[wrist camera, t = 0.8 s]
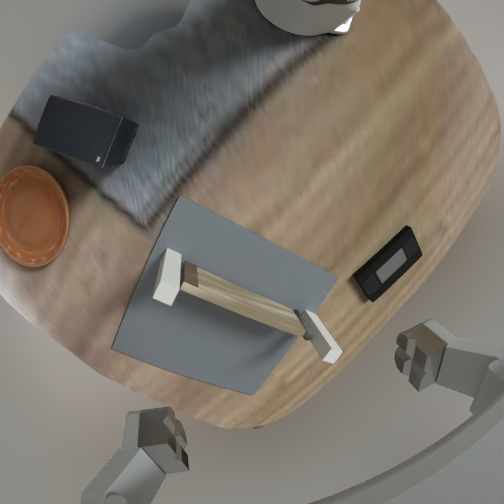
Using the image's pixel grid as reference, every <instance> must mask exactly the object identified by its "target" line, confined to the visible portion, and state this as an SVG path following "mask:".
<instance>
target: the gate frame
mask: <svg viewBox="0 0 504 504" xmlns="http://www.w3.org/2000/svg"><path fill="white" fill-rule="evenodd" d="M185 260H186V261H188V262H190V263H192V264H194V265H196V266H197V267H198V268H200V269H202V270H204V271H207V272H209V273H211V274H213V275H215V276H218V277H220V278H222V279H224V280H227V281H229V282H231V283H233V284H236V285H238V286H240V287H242V288H245V289H247V290H249V291H252V292H254V293H256V294H258V295H261V296H263V297H265V298H268V299H270V300H272V301H275V302H277V303H279V304H282V305H284V306H287V307H289V308H291V309H293V310H295V309H296V310H298V311H299V312H300V314H301V315H302V317H303V319H304V320H305V322H306V323H307V325H308V326H309V328H310V329H311V331H312V332H313V334H314V336H313V338H312V339H310V341H311V342H312V344H313V346H314V347H315V349H316V351H317V352H318V354H319V356H320V357H321V359H322V360H323V361H326V362H330V363H333V364H334V362H335V361H336V360H337V359H338V357H339V356H340V355H341V353H342V350H341V349H340V348H339V346H338V345H337V343H336V342H335V341H334V339H333V338H332V336H331V335H330V334H329V332H328V331H327V329H326V328H325V327H324V325H323V324H322V323H321V321H320V320H319V318H318V317H317V316H316V314H315V312H316V310H317V309H318V307H319V306H320V305H321V303H322V302H323V300H324V299H325V297H326V296H327V294H328V293H329V291H330V290H331V288H332V287H333V285H334V284H335V282H336V281H337V279H338V277H337V276H335V275H333V274H331V273H329V272H327V271H325V270H323V269H322V268H320V267H318V266H316V265H314V264H312V263H310V262H308V261H306V260H305V259H303V258H301V257H299V256H297V255H295V254H293V253H291V252H289V251H288V250H286V249H284V248H282V247H280V246H278V245H276V244H274V243H272V242H270V241H268V240H267V239H265V238H263V237H261V236H259V235H257V234H255V233H253V232H251V231H249V230H247V229H245V228H243V227H241V226H240V225H238V224H236V223H234V222H232V221H230V220H228V219H226V218H224V217H222V216H220V215H218V214H216V213H214V212H212V211H210V210H208V209H206V208H204V207H202V206H200V205H198V204H196V203H195V202H193V201H191V200H189V199H187V198H185V197H183V196H181V195H180V196H179V198H178V200H177V202H176V204H175V206H174V207H173V209H172V211H171V213H170V215H169V217H168V219H167V221H166V223H165V226H164V228H163V230H162V232H161V234H160V236H159V238H158V240H157V242H156V244H155V246H154V249H153V251H152V253H151V255H150V257H149V259H148V262H147V264H146V266H145V268H144V270H143V273H142V275H141V277H140V280H139V282H138V284H137V286H136V289H135V291H134V294H133V296H132V298H131V301H130V303H129V306H128V308H127V310H126V313H125V315H124V318H123V320H122V323H121V326H120V328H119V331H118V333H117V336H116V339H115V341H114V344H113V347H112V349H114V350H116V351H119V352H121V353H124V354H126V355H129V356H131V357H134V358H136V359H139V360H141V361H144V362H147V363H149V364H152V365H155V366H157V367H160V368H163V369H166V370H169V371H172V372H175V373H178V374H181V375H184V376H187V377H190V378H193V379H196V380H199V381H203V382H206V383H209V384H213V385H216V386H220V387H224V388H227V389H231V390H235V391H239V392H243V393H247V394H251V395H254V393H255V392H256V391H257V390H258V389H259V387H260V386H261V385H262V383H263V382H264V381H265V380H266V378H267V377H268V376H269V375H270V373H271V372H272V371H273V369H274V368H275V367H276V365H277V364H278V363H279V362H280V360H281V359H282V358H283V356H284V355H285V354H286V352H287V351H288V350H289V348H290V347H291V345H292V344H293V343H294V341H295V340H296V339H297V337H298V336H296V335H294V334H291V333H288V332H285V331H283V330H280V329H277V328H275V327H272V326H269V325H267V324H264V323H261V322H259V321H256V320H254V319H251V318H248V317H246V316H243V315H241V314H238V313H236V312H233V311H231V310H228V309H226V308H223V307H221V306H219V305H216V304H214V303H211V302H209V301H206V300H204V299H202V298H199V297H197V296H195V295H194V296H191V295H189V294H186V293H184V292H182V291H180V290H179V289H180V270H181V267H182V265H183V263H184V261H185Z"/></svg>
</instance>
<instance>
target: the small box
mask: <svg viewBox="0 0 504 504" xmlns="http://www.w3.org/2000/svg"><path fill="white" fill-rule="evenodd" d="M137 128H138V125H137V124H136V123H134V122H132V121H130V120H128V119H126V118H124V117H122V116H120V115H118V114H116V113H113V112H110V111H108V110H105V109H102V108H99V107H96V106H94V105H90V104H86V103H83V102H79V101H76V100H72V99H68V98H63V97H59V96H53V95H51V96H50V97H49V100H48V102H47V104H46V107H45V109H44V112H43V114H42V117H41V120H40V123H39V125H38V128H37V131H36V134H35V137H34V140H33V143H34V144H36V145H39V146H42V147H45V148H48V149H51V150H53V151H56V152H59V153H62V154H65V155H67V156H70V157H73V158H76V159H79V160H82V161H84V162H87V163H90V164H92V165H95V166H98V167H101V168H102V167H107V166H112V165H117V164H123V163H124V161H125V159H126V155H127V153H128V150H129V148H130V145H131V143H132V140H133V138H134V137H135V134H136V131H137Z"/></svg>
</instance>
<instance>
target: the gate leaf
mask: <svg viewBox="0 0 504 504" xmlns="http://www.w3.org/2000/svg"><path fill="white" fill-rule="evenodd" d="M179 290H180V291H182V292H184V293H186V294H189V295H191V296H194V295H195V296H197V297H199V298H202V299H204V300H206V301H209V302H211V303H214V304H216V305H219V306H221V307H223V308H226V309H228V310H231V311H233V312H236V313H238V314H241V315H243V316H246V317H248V318H251V319H254V320H256V321H259V322H261V323H264V324H267V325H269V326H272V327H275V328H277V329H280V330H283V331H285V332H288V333H291V334H294V335H296V336H299V337H302V336H303V337H304V339H305V340H310V339H312V338H313V336H314V334H313V332H312V331H311V329H310V328H309V326H308V325H307V323H306V322H305V320H304V319H303V317H302V315H301V314H300V312H299V311H298V310H296V309H295V310H293V309H291V308H289V307H287V306H284V305H282V304H279V303H277V302H275V301H272V300H270V299H268V298H265V297H263V296H261V295H258V294H256V293H254V292H252V291H249V290H247V289H245V288H242V287H240V286H238V285H236V284H233V283H231V282H229V281H227V280H224V279H222V278H220V277H218V276H215V275H213V274H211V273H209V272H207V271H204V270H202V269H200V268H198V267H197V266H196V265H194V264H192V263H190V262H188V261H186V260H185V261H184V263H183V265H182V267H181V270H180V289H179Z"/></svg>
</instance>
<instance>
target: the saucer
mask: <svg viewBox="0 0 504 504" xmlns="http://www.w3.org/2000/svg"><path fill="white" fill-rule="evenodd" d="M69 229H70V210H69V205H68V201H67V198H66V195H65V193H64V191H63V189H62V187H61V185H60V184H59V182H58V181H57V180H56V179H55V177H54V176H53V175H52V174H50V173H49V172H48V171H46V170H44V169H43V168H40V167H37V166H32V165H24V166H19V167H16V168H14V169H12V170H11V171H9V172H8V173H7V174H6V175H5V176H4V177H3V178H2V179H1V181H0V247H1V249H2V250H3V251H4V253H5V254H6V255H7V256H8V257H9V258H10V259H12V260H13V261H15V262H16V263H18V264H20V265H23V266H26V267H40V266H44V265H46V264H48V263H50V262H51V261H53V260H54V259H55V258H56V257H57V256H58V255H59V253H60V252H61V250H62V249H63V247H64V245H65V243H66V240H67V237H68V234H69Z"/></svg>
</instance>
